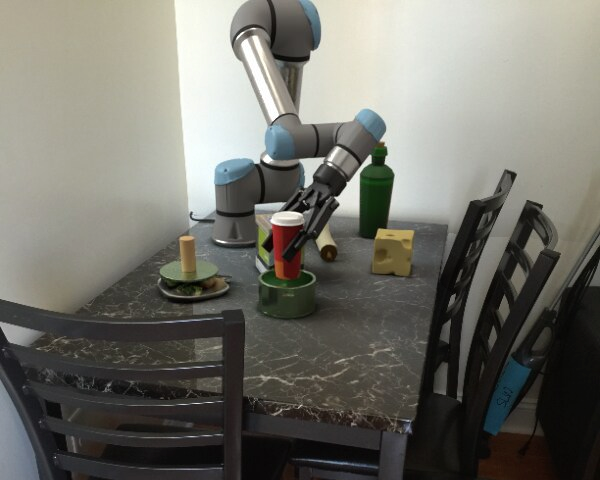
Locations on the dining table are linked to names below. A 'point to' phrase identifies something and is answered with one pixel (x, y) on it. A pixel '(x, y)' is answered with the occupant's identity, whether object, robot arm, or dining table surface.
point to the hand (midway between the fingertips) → (275, 254)
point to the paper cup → (286, 242)
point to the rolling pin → (326, 245)
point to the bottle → (375, 193)
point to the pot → (287, 295)
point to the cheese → (393, 252)
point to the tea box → (263, 229)
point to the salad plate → (193, 289)
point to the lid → (188, 265)
